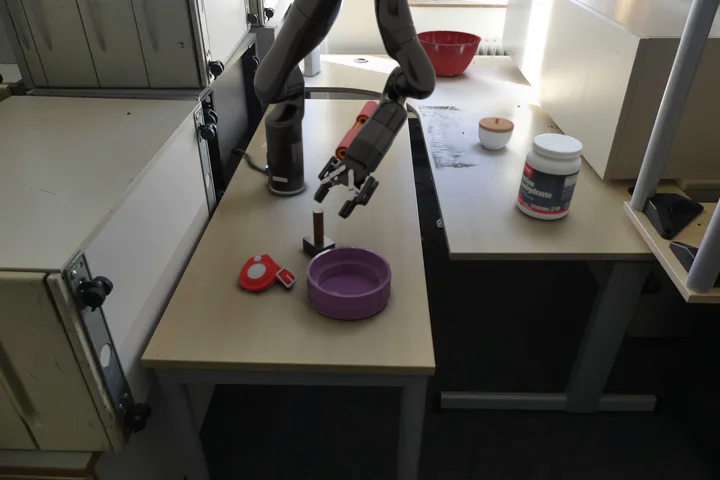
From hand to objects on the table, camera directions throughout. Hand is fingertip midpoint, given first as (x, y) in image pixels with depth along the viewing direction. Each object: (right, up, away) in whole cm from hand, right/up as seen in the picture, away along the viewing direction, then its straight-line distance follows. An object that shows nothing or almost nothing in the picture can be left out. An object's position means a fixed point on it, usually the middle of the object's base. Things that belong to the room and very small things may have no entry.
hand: (328, 209), depth 113 cm
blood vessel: (+6, +28, +61) cm, 68 cm away
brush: (-2, -10, +4) cm, 11 cm away
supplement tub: (+53, +1, +23) cm, 58 cm away
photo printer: (-14, +66, +119) cm, 137 cm away
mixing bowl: (+44, +68, +125) cm, 149 cm away
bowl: (+4, -17, -7) cm, 19 cm away
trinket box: (+49, +23, +56) cm, 78 cm away
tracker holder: (-12, -15, -5) cm, 20 cm away
